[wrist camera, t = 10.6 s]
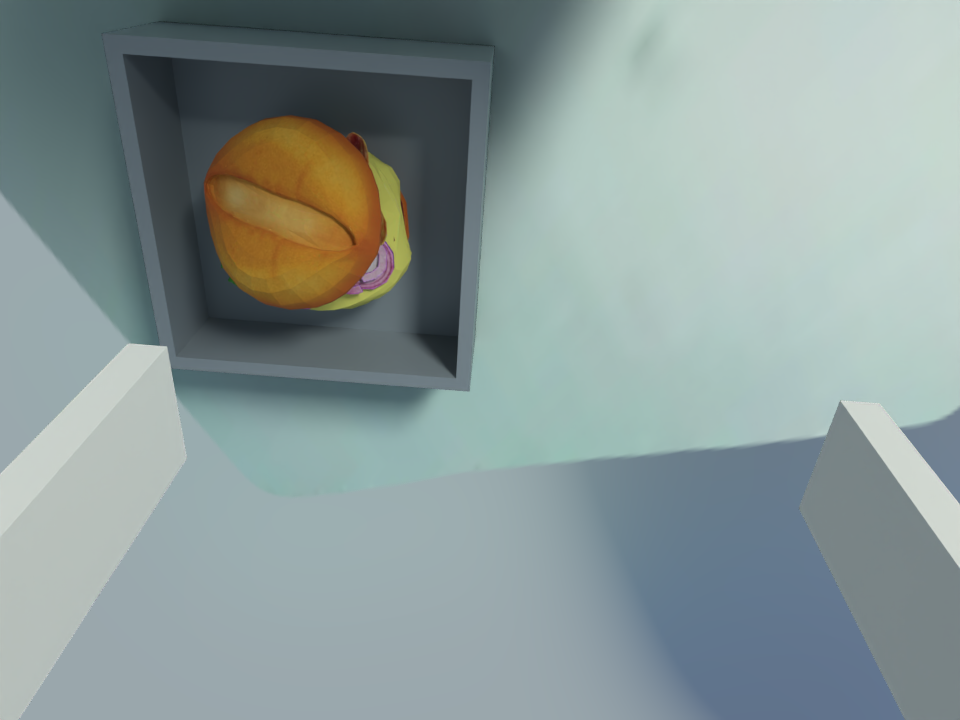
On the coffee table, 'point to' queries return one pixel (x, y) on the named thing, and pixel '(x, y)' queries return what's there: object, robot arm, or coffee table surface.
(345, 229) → the cheeseburger
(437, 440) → the coffee table surface
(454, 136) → the bin
